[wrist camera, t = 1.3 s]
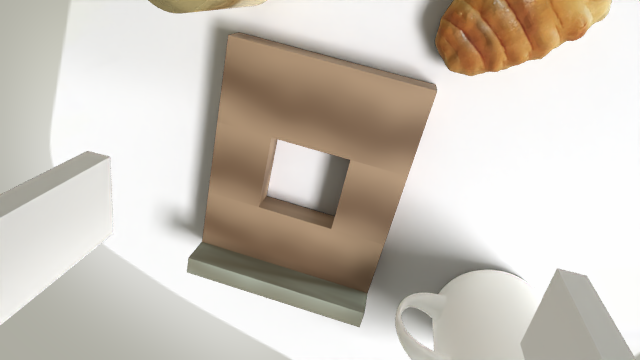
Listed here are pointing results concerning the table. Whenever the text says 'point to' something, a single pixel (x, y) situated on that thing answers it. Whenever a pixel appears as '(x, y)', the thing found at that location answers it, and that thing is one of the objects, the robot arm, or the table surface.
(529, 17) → the pastry
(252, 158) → the jig
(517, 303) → the mug
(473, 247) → the table surface
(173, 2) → the brass cylinder rod
